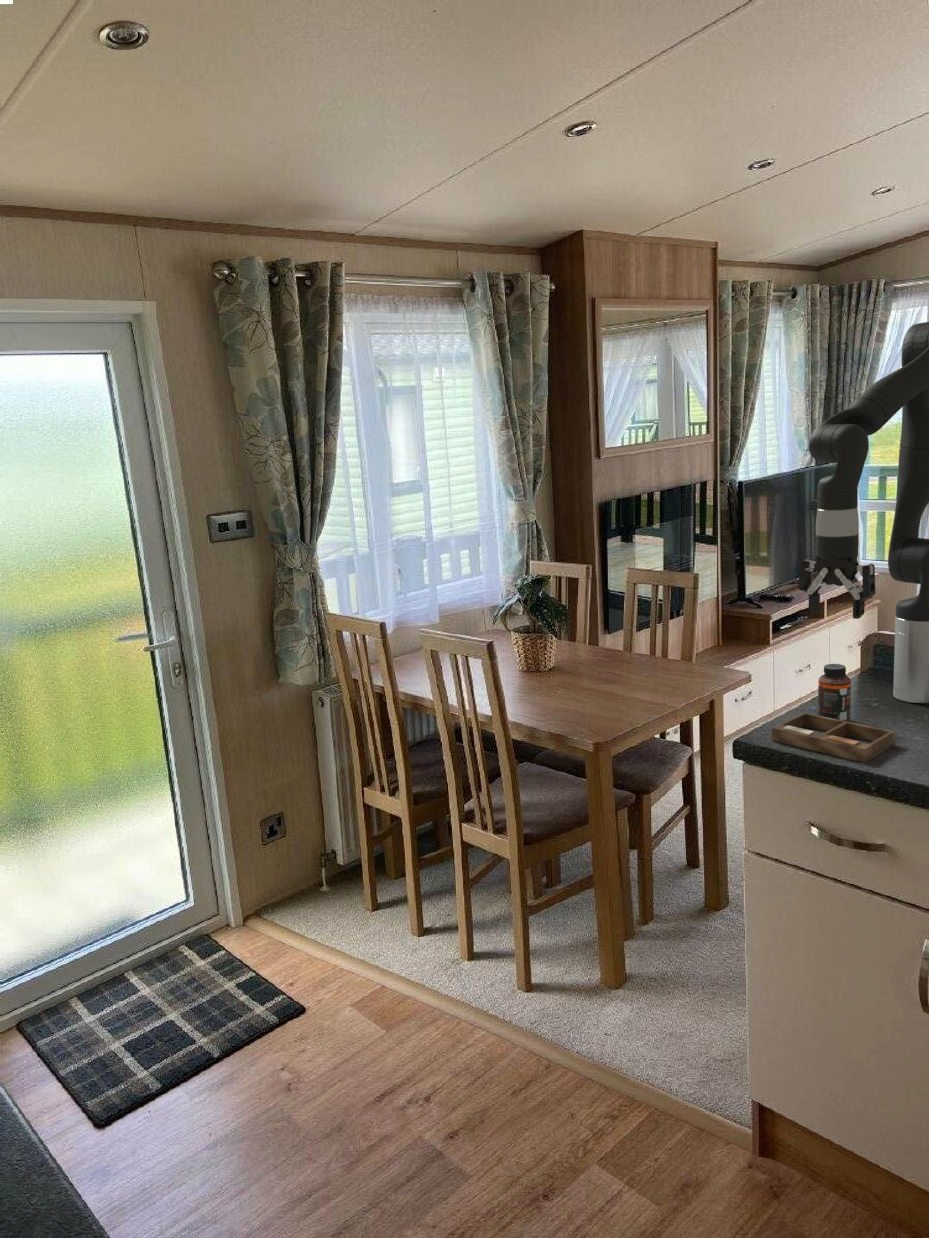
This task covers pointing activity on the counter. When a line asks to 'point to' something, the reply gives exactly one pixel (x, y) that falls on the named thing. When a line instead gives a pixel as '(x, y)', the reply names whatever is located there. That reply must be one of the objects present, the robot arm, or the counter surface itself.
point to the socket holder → (833, 736)
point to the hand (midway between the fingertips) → (835, 615)
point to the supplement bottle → (834, 693)
